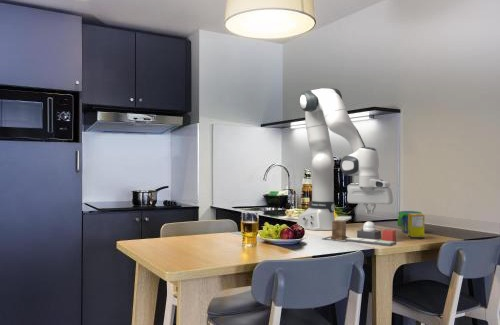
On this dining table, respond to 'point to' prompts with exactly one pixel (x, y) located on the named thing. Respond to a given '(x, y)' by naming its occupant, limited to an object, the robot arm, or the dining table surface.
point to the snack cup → (404, 220)
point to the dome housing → (369, 234)
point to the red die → (389, 235)
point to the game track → (370, 241)
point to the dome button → (369, 227)
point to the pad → (333, 240)
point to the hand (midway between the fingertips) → (369, 213)
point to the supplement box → (416, 225)
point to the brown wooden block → (338, 230)
